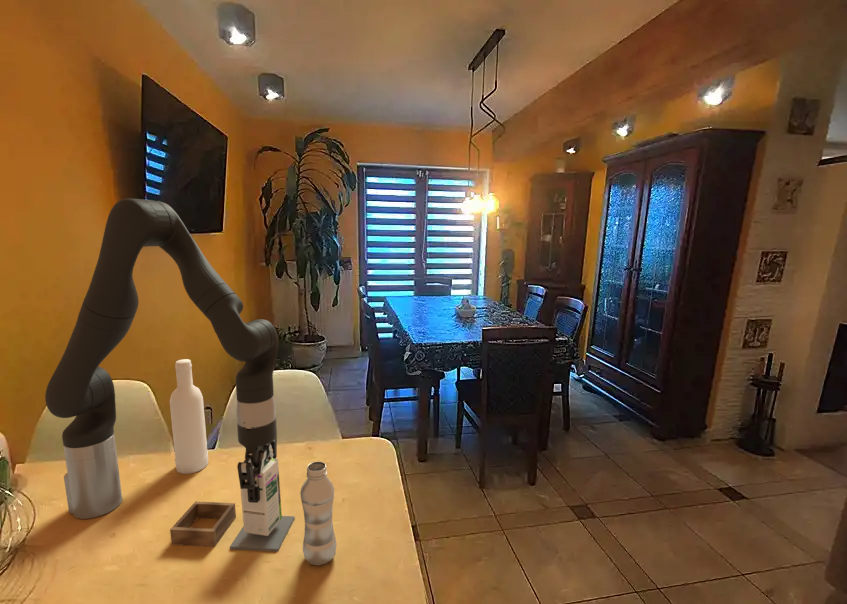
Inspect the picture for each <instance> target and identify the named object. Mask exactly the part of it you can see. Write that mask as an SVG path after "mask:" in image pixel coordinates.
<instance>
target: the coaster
mask: <svg viewBox="0 0 847 604" xmlns="http://www.w3.org/2000/svg"><path fill="white" fill-rule="evenodd" d="M295 520H296V517H295V515H293V516H292V515H282V519H281V520H280V521H279V523H278V524H277V525H276V526H275V528H274V529H273V530H272V531H271V532H270V533H269V535H268V536H264V535H258V534H252V533H247V532H244V525H243V526H242V528H241V529H240V530H239V532H238V534H237V535H236V537H235V538H234V540H232V542H231V544H230V546H229V550H239V551H240V550H241V551H259V552H260V551H261V552H277V553H278V552H279V550H280V548H281V546H282V544H283V542H284V541H285V538H286V536H287V534H288V533H289V531H290V529H291V527H292V525H293V523H294V521H295Z"/></svg>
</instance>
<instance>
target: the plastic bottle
mask: <svg viewBox="0 0 847 604" xmlns="http://www.w3.org/2000/svg"><path fill="white" fill-rule="evenodd" d="M306 468H307V469H306V480H305V481H304V482H303V484H302V486H301V489H300V492H299V493H300V500H301V505H302V509H303V511H302V512H303V518H304V519H303V520H304V534H303V536H304V537H303V542H302V552H303V556H304V559H305V560H306V562H308V563H309V564H310V565H314V566H323V565H326V564H327V563H329V562H330V561H331V560H332V559H333V558H334V557H335V555H336V551H337V539H336V535H335V529H334V523H333V509H334V507H333V505H334V499H335V497H334V496H335V486H334V484H333V483H332V481H331V480H330V478H329V477H328V476H327V475H328V470H327V464H326V463H325V462H324V461H319V460H317V461H312V462H310V463H309V464H307V467H306Z"/></svg>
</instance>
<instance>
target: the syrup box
mask: <svg viewBox="0 0 847 604" xmlns="http://www.w3.org/2000/svg"><path fill="white" fill-rule="evenodd" d="M279 467H280V466H279V459H277V458H276V459H274V458H272V459H267V460H266V461H265V462H264V467H263V471H262V472H261V474H260V475H259V490H260V500H259V501H258V502H257V503H252V502H249V501H248V492H247V489H241V488H240V497H241V499H240V500H241V509H242V510H241V511H242V523H243V526H244V532H247V533H252V534H258V535H264V536H268V535H269V533H270V532H271V531H272V530H273V529H274V528H275V526H276V525H277V524H278V523H279V521H280V520H281V519H282V516H283V515H282V502H281V501H282V500H281V485H280V483H281V482H280V468H279ZM258 468H259V467H254V468H253V470H258ZM254 480H255V474H254Z"/></svg>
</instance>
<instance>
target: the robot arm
mask: <svg viewBox="0 0 847 604" xmlns="http://www.w3.org/2000/svg"><path fill="white" fill-rule="evenodd" d="M104 227H105V228H104V231H103V237H102V241H101V244H100V245H101V247H100V250H99V254H98V259H97V262H96V266H95V268H94V271H93V275H92V276H91V281H90V283H89V287H88V290H87V291H86V294H85V297H84V298H83V301H82V304H81V307H80V310H79V312H78V315H77V319H76V322H75V325H74V328H73V329H72V332H71V335H70V338H69V340H68V342H67V345H66V347H65V350H64V352H63V354H62V357H61V358H60V361H59V363H58V364H57V366H56V368H55V370H54V372H53V373H52V376H51V378H50V380H49V381H48V384H47V386H46V390H45V395H44V397H45V405H46V407H47V409H48V412H50V413H51V414H52V415H53V416H55V417H56V418H61V419H70V418H73V417H75V418H74V419H73V420H72V421H71V422H70V424H68V425H67V426H66V427H65V428H64V429H63V431H62V434H61V438H62V444H63V453H64V457H65V458H64V460H65V465H66V472H67V473H65V474H64V475H63V481H64V489H65V495H66V502H67V507H68V514H69V515H70V514H72V515H73V516H74V517H75V518H76V519H82V520H85V519H86V520H89V519H93V518H98V517H100V516H103V515H105V514H108V513H110V512H112V511H114V510H115V509H117V508H118V507H119V506H120V505H121V503H122V502H123V495H122V494H123V493H122V484H121V477H120V469H119V462H118V460H119V459H118V453H117V444H116V437H115V430H114V429H115V428H114V427H115V424H116V421H117V408H116V407H117V406H116V390H115V384H114V381H113V378H112V377H111V375H110V373H109V372H108V371H107V370H106V369H105V368H104V367H101V366H100V365H101V363H102V362H103V361H104V360H105V359H106V358H107V356H109V355H110V353H111V352H113V351H114V350H115V348H116V347H117V346H118V345H120V343H121V342H122V340H124V338H125V337H126V335H127V334H128V332H129V331H130V328H131V326H132V324H133V321H134V319H135V317H136V313H137V311H138V309H139V305H140V304H139V303H140V302H139V300H140V299H139V295H138V291H137V289H136V284H135V281H134V279H133V277H134V276H133V272H134V267H135V264H136V262H137V259H138V257H139V254H140V252H141V250H143V248H146V247H147V248H148V247H159V248H160V249H162V250H163V251H164V252H165V253H166V254H167V255H168V256H170V258H171V259H172V260H173V261H174V262H175V264H176V265H177V268H178V269H179V273H180V275H181V276H180V277H181V280H182V284H183V287H184V289H185V293H186V295H188V297H189V299H190V300H191V301H192V303H193V304H194V305H195V306H196V307H197V308H198V309H199V311H200V312H201V313H202V314H203V315H204V316H205V317H206V318H207V319H208V320H209V322H210V323H211V325H212V329H213V331H214V333H215V334H216V336H217V338H218V340H219V342H220V345H221V346H222V348H223V349H224V351H225V353H227V354H228V356H229V357H231V358H233V359H234V360H236V361H239V362H245V363H244V365H243V367H242V368H240V369H239V370H238V372H237V374H236V376H235V391H236V392H235V394H236V407H235V410H236V411H235V414H236V415H235V416H236V426H237V429H236V430H237V441H238V443H239V444H240V445H242V446H243V447H244V448H245V452H244V460H243V462H242V461H239V462H238V463H237V465H236V466H237V467H236V468H237V475H238V480H239V487H240V490H241V489H247V492H248V501H249V502H252V503H257V502H258V501H259V500H260V490H259V475H260V474H261V472H262V471H263V467H264V462H265V461H266V460H267V459H272V458H274V459H277V455H278V453H277V452H278V451H277V448H278V447H277V446H278V443H277V442H278V440H277V439H278V431H277V430H278V429H277V411H276V410H277V406H276V401H275V393H274V378H273V377H274V370H275V366H276V362H277V361H276V360H277V356H278V355H277V354H278V348H279V336H278V332H277V329H276V327H275V326H274V325H273V324H272V322H270V321H269V320H267V319H264V318H263V319H262V318H261V319H260V318H259V319H254V320H251V321H248V322H244V321H243V318H242V317H241V313H242V312H243V310H244V303H243V301H242V300H241V298H240V297H239V296H238V295H237V294H236V292H235V291H234V290H233V289H232V288H231V286H229V284H227V282H226V281H225V280H224V279H223V278H222V277H221V276H220V275H219V273H218V272H217V271H216V270H215V268H214V267H213V266H212V265H211V263H210V261H208V259H207V258H206V256H205V255H204V253H203V252H202V250H201V248H200V247H199V246H198V244H197V242H196V241H195V239H194V238H193V236H192V234H191V233H190V232H189V230H188V228H187V227H186V225H185V223H184V222H183V221H182V219H181V218H180V216H179V214H178V213H177V212H176V211H175V210H174V208H172V207H171V206H170V205H169V204H168V203H166V202H163V201H160V200H153V199H144V198H142V199H141V198H129V197H128V198H123V199H120V200H118V201H116V203H114V205H113V206H112V207H111V209H110V211H109V213H108V216H107V220H106V223H105V226H104ZM254 467H259V468H258V470H253V468H254ZM254 474H255V480H254Z"/></svg>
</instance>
